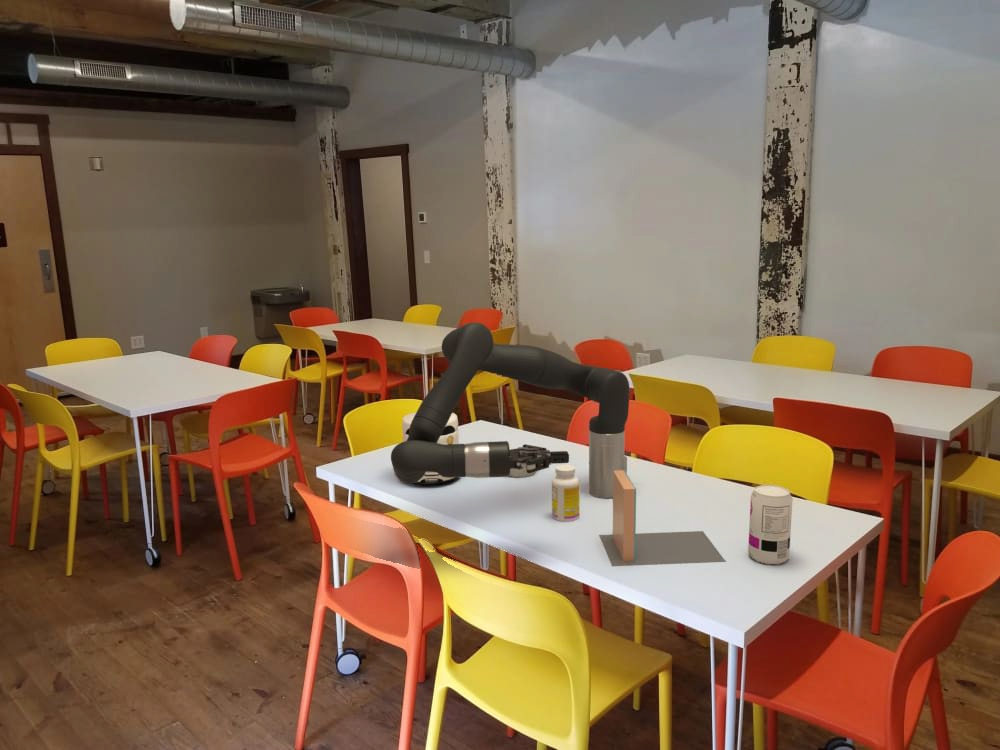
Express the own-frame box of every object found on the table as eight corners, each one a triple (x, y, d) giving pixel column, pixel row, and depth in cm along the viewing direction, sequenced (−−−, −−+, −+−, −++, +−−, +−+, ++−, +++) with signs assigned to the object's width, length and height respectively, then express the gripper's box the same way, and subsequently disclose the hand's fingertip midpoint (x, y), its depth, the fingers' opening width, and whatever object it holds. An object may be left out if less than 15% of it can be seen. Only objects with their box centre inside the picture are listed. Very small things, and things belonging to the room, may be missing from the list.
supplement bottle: (583, 515, 187) (584, 465, 185) (572, 525, 182) (572, 473, 179) (559, 511, 191) (559, 461, 188) (547, 520, 185) (546, 469, 183)
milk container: (425, 493, 205) (423, 429, 201) (389, 478, 218) (386, 417, 214) (475, 478, 216) (473, 416, 212) (438, 464, 229) (436, 406, 225)
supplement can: (741, 558, 163) (744, 491, 160) (759, 546, 168) (762, 481, 165) (777, 569, 157) (781, 500, 154) (795, 556, 163) (799, 489, 160)
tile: (623, 561, 161) (624, 489, 158) (612, 538, 173) (613, 470, 170) (635, 560, 161) (636, 488, 158) (623, 537, 173) (624, 470, 170)
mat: (612, 567, 159) (612, 566, 159) (599, 536, 175) (599, 534, 175) (725, 563, 160) (726, 561, 160) (702, 532, 176) (702, 531, 176)
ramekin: (522, 464, 228) (522, 447, 227) (547, 473, 219) (546, 455, 218) (492, 472, 221) (491, 454, 220) (516, 481, 213) (516, 463, 212)
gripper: (487, 451, 155) (572, 449, 155) (485, 433, 167) (564, 431, 168) (488, 487, 156) (572, 484, 157) (486, 466, 169) (564, 464, 170)
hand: (568, 456), depth 162 cm, fingers closed
